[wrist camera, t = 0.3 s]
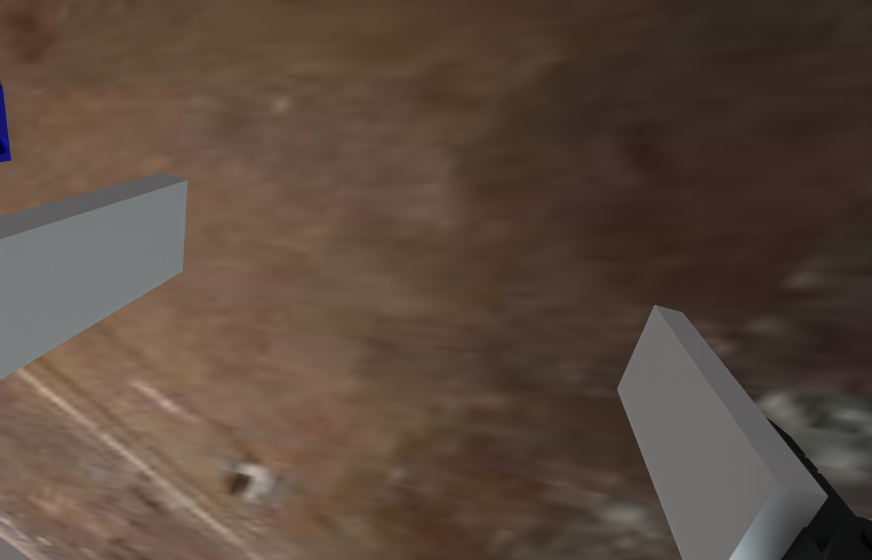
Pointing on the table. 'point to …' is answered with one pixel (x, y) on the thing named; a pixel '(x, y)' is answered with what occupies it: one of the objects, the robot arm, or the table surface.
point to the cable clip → (3, 131)
